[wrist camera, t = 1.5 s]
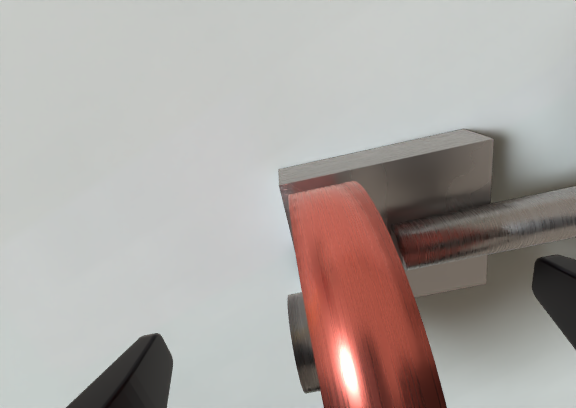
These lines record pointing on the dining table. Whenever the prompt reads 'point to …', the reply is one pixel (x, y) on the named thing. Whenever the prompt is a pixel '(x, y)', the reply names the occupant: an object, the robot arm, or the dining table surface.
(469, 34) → the dining table surface
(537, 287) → the robot arm
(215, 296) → the dining table surface
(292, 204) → the red disc wheel
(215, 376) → the dining table surface
